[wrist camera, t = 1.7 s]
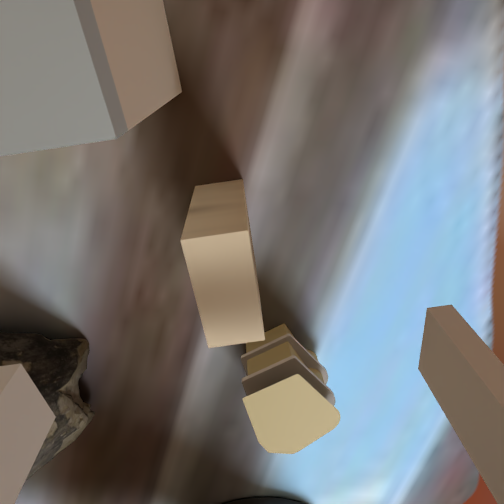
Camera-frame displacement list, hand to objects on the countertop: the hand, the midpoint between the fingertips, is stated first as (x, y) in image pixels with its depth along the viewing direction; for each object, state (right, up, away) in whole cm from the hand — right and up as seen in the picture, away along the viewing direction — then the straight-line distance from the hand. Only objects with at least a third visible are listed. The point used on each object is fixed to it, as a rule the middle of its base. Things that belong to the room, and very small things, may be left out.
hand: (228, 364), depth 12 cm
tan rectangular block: (-1, +5, +10) cm, 12 cm away
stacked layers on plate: (+3, -4, +16) cm, 17 cm away
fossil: (-16, -5, +15) cm, 22 cm away
